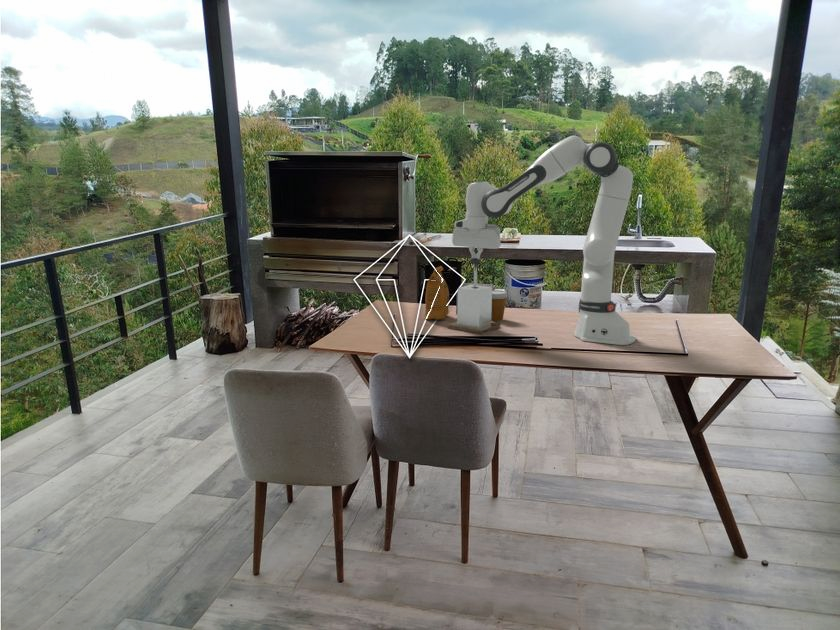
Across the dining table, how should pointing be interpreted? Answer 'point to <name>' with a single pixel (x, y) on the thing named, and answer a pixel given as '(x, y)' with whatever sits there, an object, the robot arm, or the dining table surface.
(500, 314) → the disposable coffee cup
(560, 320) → the dining table surface
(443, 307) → the coffee package
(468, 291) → the block
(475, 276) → the plunger
